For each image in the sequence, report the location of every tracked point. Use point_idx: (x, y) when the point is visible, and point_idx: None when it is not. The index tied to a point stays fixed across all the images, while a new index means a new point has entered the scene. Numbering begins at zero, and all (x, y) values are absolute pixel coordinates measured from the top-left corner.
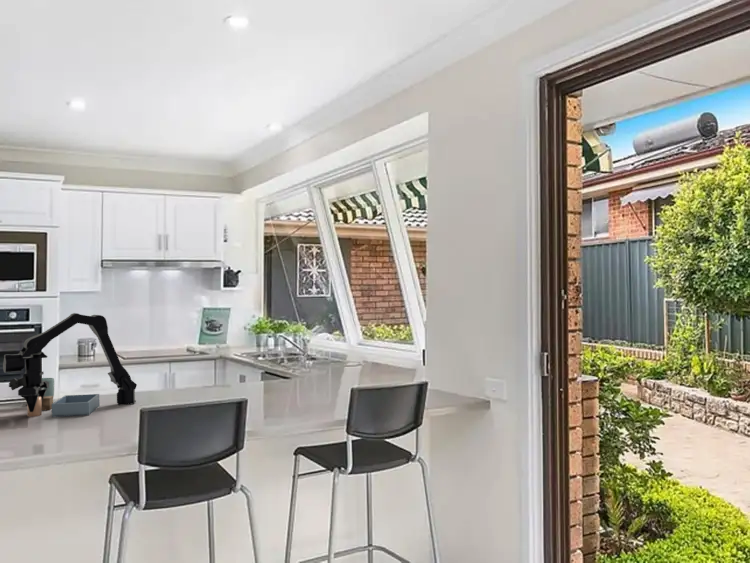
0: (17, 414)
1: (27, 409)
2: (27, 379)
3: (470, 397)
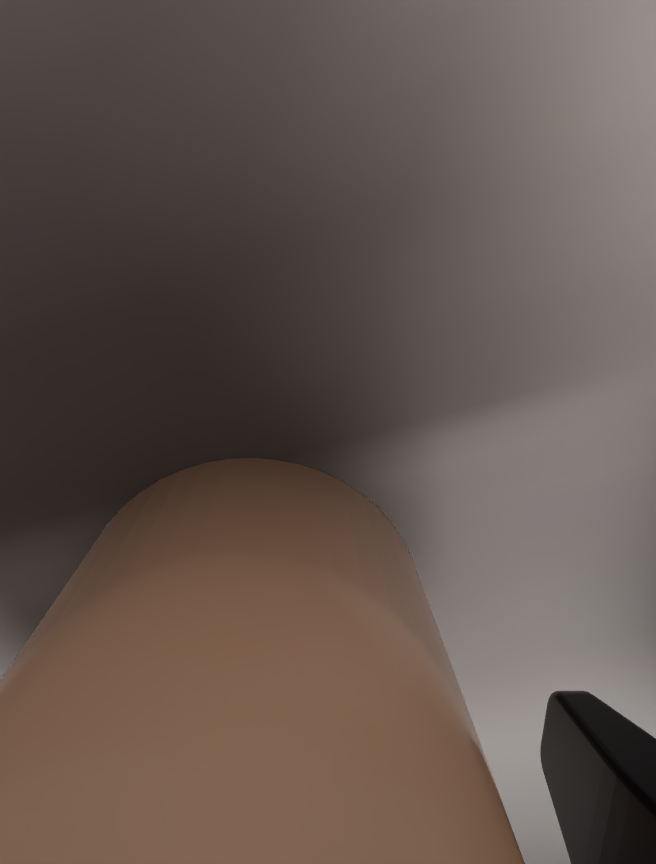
0: (574, 69)
1: (99, 582)
2: None
3: None
